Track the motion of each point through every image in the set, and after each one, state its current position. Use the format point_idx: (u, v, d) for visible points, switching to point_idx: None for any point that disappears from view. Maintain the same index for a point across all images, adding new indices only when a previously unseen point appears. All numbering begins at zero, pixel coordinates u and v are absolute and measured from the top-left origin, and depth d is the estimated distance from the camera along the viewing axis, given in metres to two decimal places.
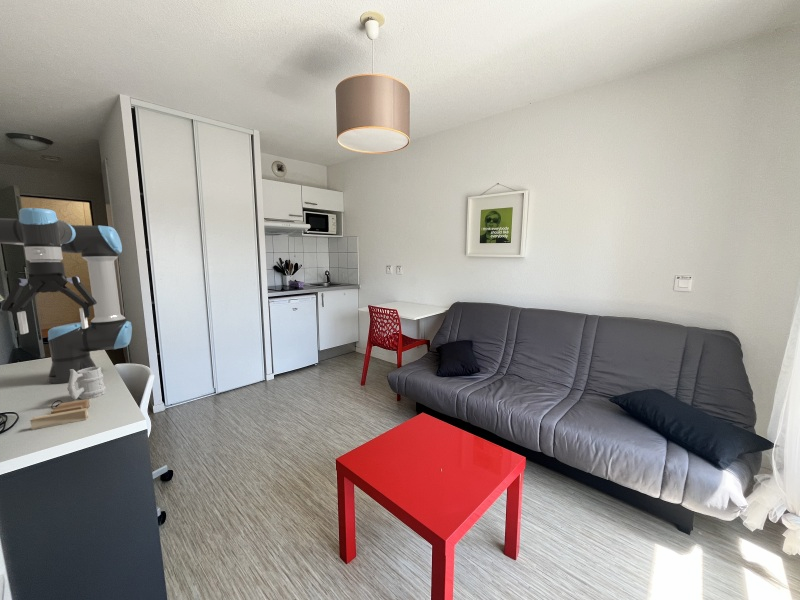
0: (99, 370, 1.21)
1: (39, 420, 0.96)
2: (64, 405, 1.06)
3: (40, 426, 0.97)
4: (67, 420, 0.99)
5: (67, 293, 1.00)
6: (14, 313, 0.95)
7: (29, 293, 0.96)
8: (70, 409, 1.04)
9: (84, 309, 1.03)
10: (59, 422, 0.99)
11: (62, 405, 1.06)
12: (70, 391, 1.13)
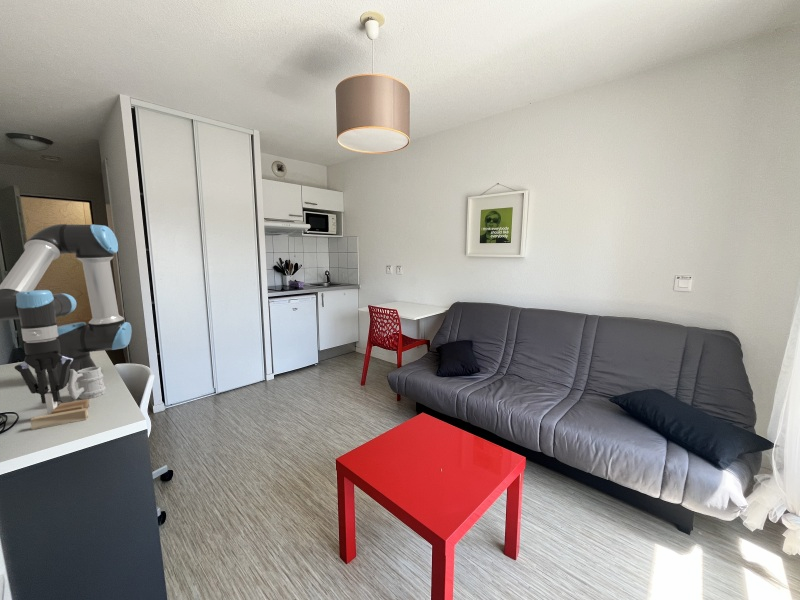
0: (99, 370, 1.21)
1: (39, 420, 0.96)
2: (64, 405, 1.06)
3: (40, 426, 0.97)
4: (67, 420, 0.99)
5: (50, 374, 1.02)
6: (42, 395, 1.02)
7: (38, 374, 1.01)
8: (71, 409, 1.04)
9: (53, 393, 1.03)
10: (59, 422, 0.99)
11: (61, 405, 1.06)
12: (70, 391, 1.13)
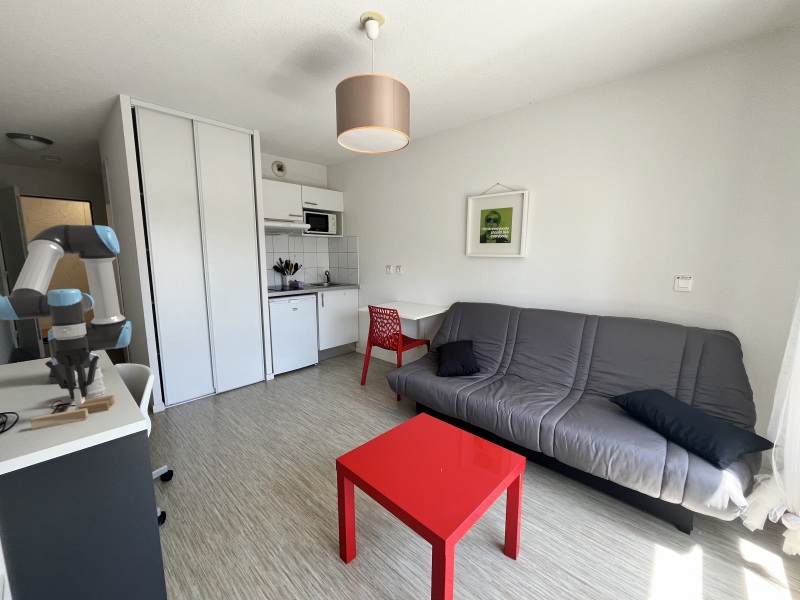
0: (99, 370, 1.21)
1: (39, 420, 0.96)
2: (91, 400, 1.09)
3: (40, 426, 0.97)
4: (67, 420, 0.99)
5: (79, 370, 1.05)
6: (71, 390, 1.05)
7: (67, 370, 1.04)
8: (97, 404, 1.06)
9: (81, 389, 1.07)
10: (59, 422, 0.99)
11: (88, 400, 1.09)
12: None
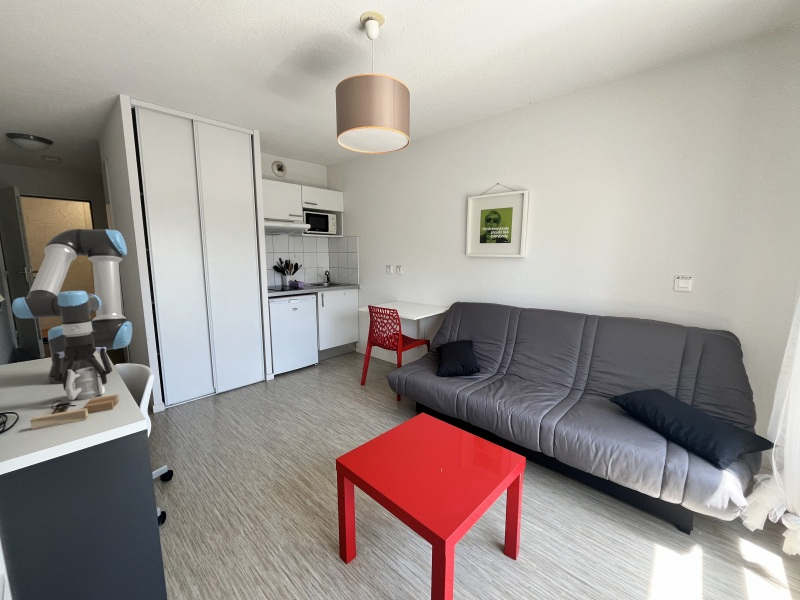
0: None
1: (39, 420, 0.96)
2: (95, 400, 1.10)
3: (40, 426, 0.97)
4: (67, 420, 0.99)
5: (92, 362, 1.18)
6: (64, 382, 1.15)
7: (69, 363, 1.15)
8: (101, 404, 1.07)
9: (101, 377, 1.20)
10: (59, 422, 0.99)
11: (93, 400, 1.10)
12: (68, 391, 1.12)
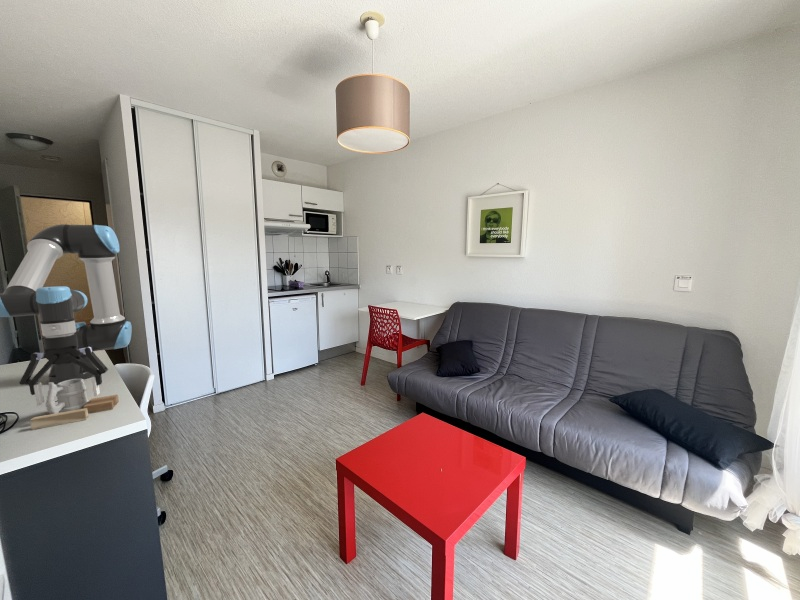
0: (82, 382, 1.08)
1: (39, 420, 0.96)
2: (95, 400, 1.10)
3: (40, 426, 0.97)
4: (67, 420, 0.99)
5: (80, 364, 1.06)
6: (31, 386, 1.01)
7: (45, 366, 1.02)
8: (101, 404, 1.07)
9: (96, 377, 1.08)
10: (59, 422, 0.99)
11: (93, 400, 1.10)
12: (49, 407, 1.00)
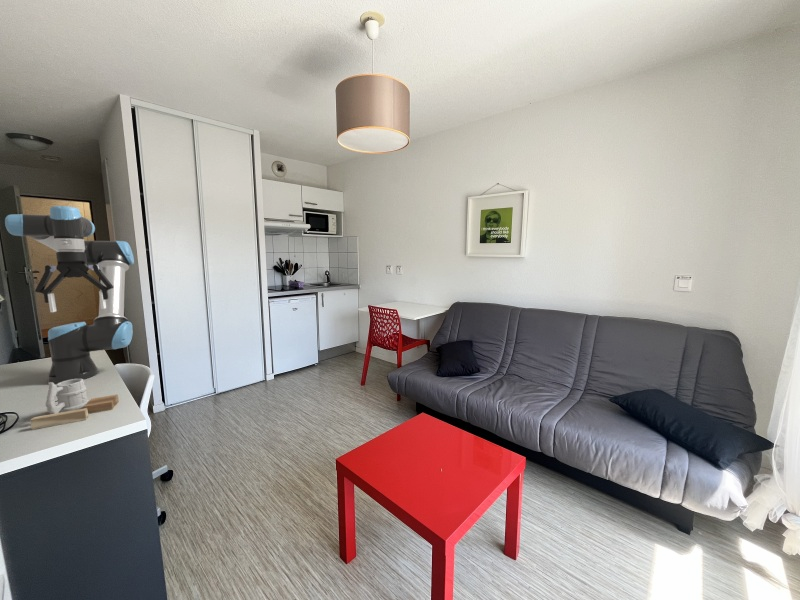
0: (82, 382, 1.08)
1: (39, 420, 0.96)
2: (95, 400, 1.10)
3: (40, 426, 0.97)
4: (67, 420, 0.99)
5: (89, 278, 1.18)
6: (45, 294, 1.13)
7: (57, 278, 1.14)
8: (101, 404, 1.07)
9: (103, 292, 1.21)
10: (59, 422, 0.99)
11: (93, 400, 1.10)
12: (49, 407, 1.00)
